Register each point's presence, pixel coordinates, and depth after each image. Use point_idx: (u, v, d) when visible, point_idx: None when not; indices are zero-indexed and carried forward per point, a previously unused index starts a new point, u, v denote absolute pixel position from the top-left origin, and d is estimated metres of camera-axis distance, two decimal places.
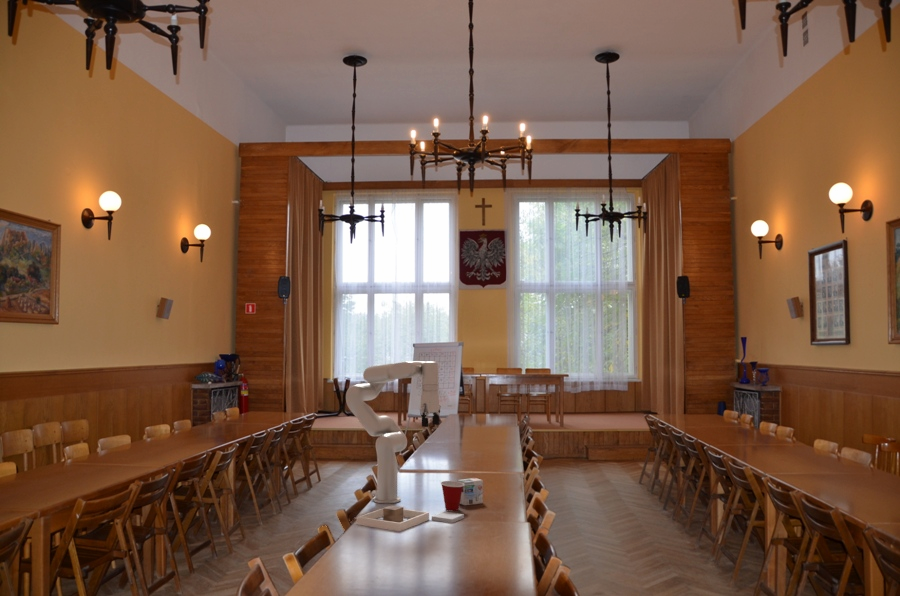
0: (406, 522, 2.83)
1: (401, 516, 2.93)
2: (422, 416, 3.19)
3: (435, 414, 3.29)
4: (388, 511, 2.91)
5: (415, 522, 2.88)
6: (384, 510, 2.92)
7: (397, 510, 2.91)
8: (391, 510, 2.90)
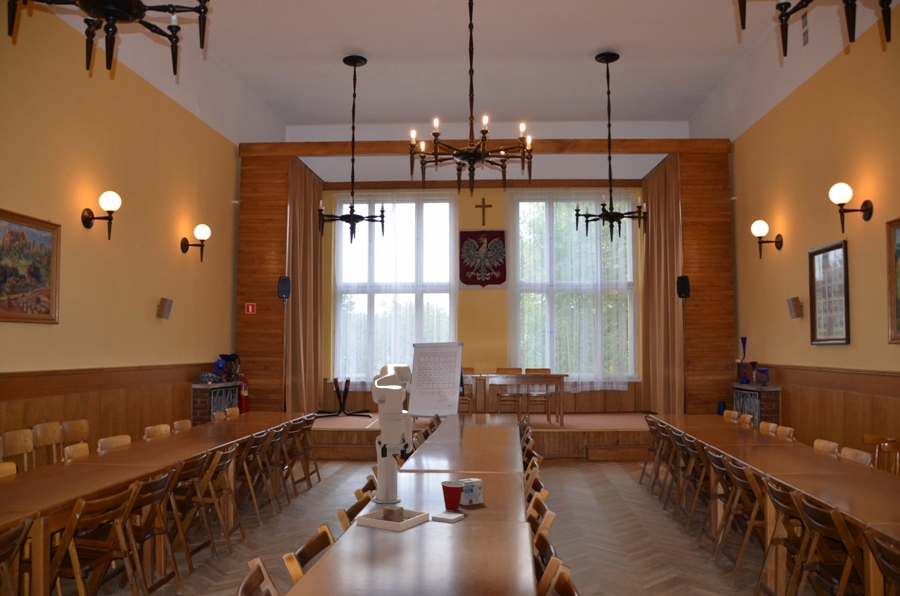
0: (406, 522, 2.83)
1: (401, 516, 2.93)
2: (406, 447, 2.92)
3: (383, 445, 2.98)
4: (388, 510, 2.91)
5: (415, 522, 2.88)
6: (384, 510, 2.92)
7: (397, 510, 2.91)
8: (391, 510, 2.90)
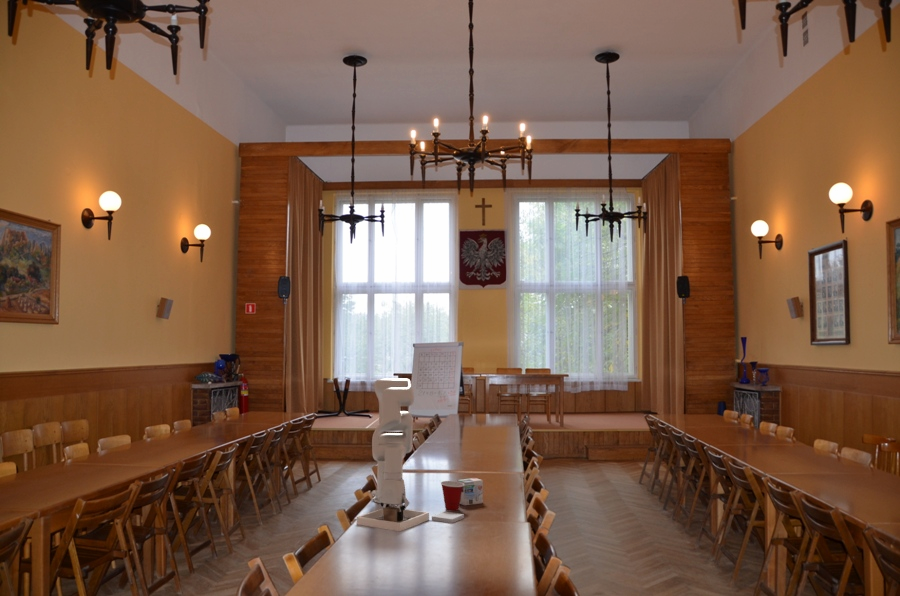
0: (406, 522, 2.83)
1: None
2: (403, 509, 2.91)
3: None
4: (388, 510, 2.91)
5: (415, 522, 2.88)
6: (384, 510, 2.92)
7: (397, 510, 2.91)
8: (391, 510, 2.90)
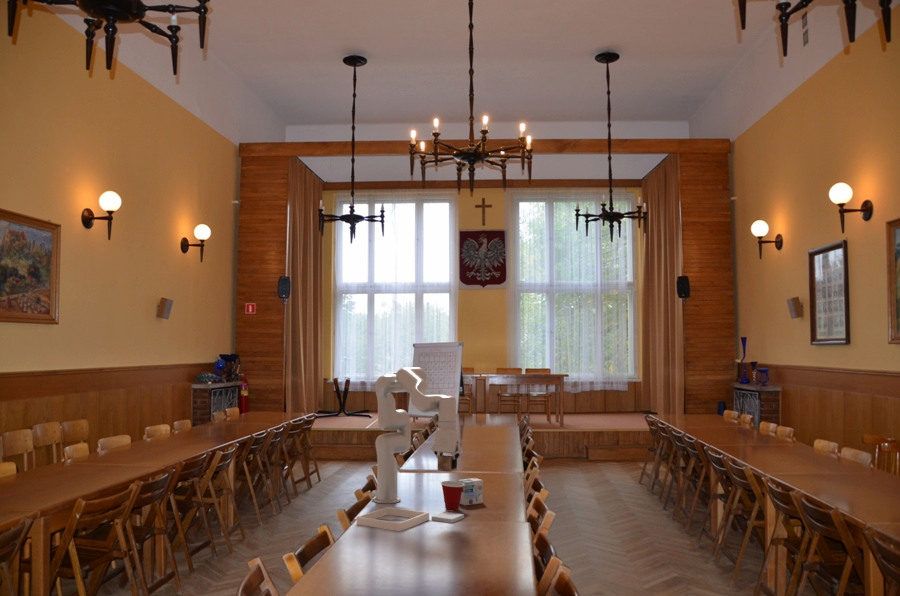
0: (406, 522, 2.83)
1: None
2: (457, 457, 2.97)
3: None
4: (443, 458, 2.98)
5: (415, 522, 2.88)
6: (438, 458, 2.99)
7: (451, 458, 2.98)
8: (446, 458, 2.97)
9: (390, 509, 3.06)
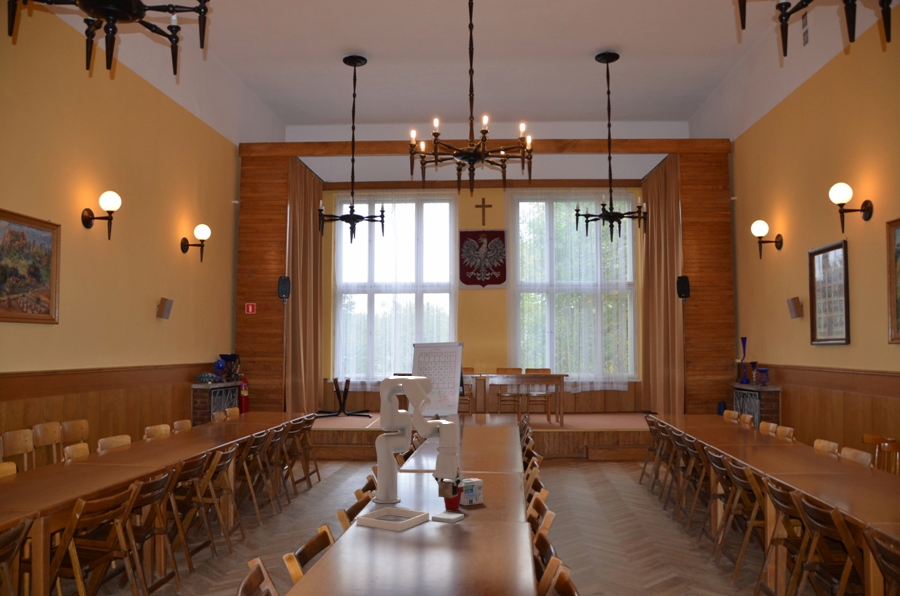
0: (406, 522, 2.83)
1: None
2: (458, 483, 2.97)
3: None
4: (444, 484, 2.97)
5: (415, 522, 2.88)
6: (439, 484, 2.98)
7: (452, 484, 2.97)
8: (447, 484, 2.96)
9: (390, 509, 3.06)
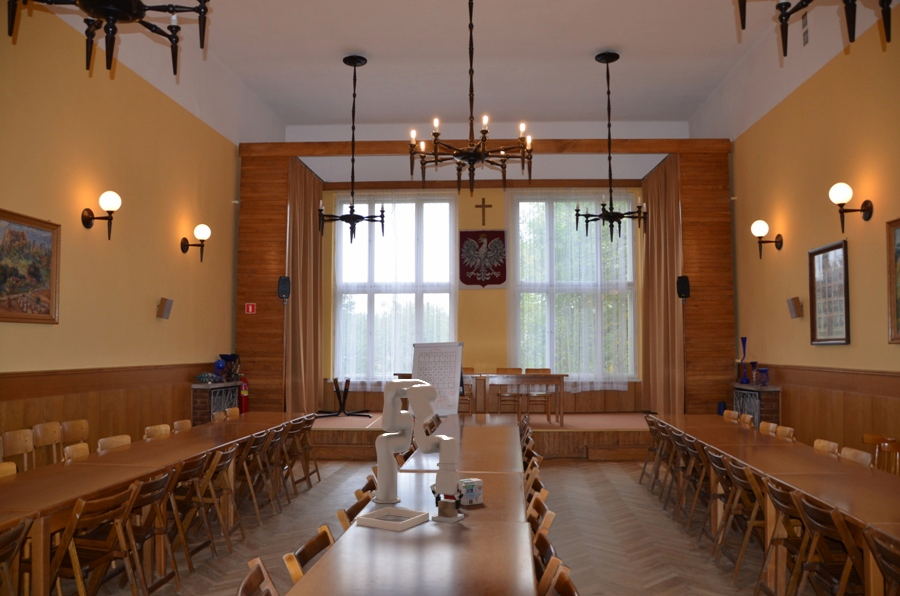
0: (406, 522, 2.83)
1: (455, 509, 2.99)
2: (460, 498, 2.96)
3: None
4: (443, 504, 2.97)
5: (415, 522, 2.88)
6: (439, 503, 2.98)
7: (452, 503, 2.96)
8: (446, 504, 2.96)
9: (390, 509, 3.06)
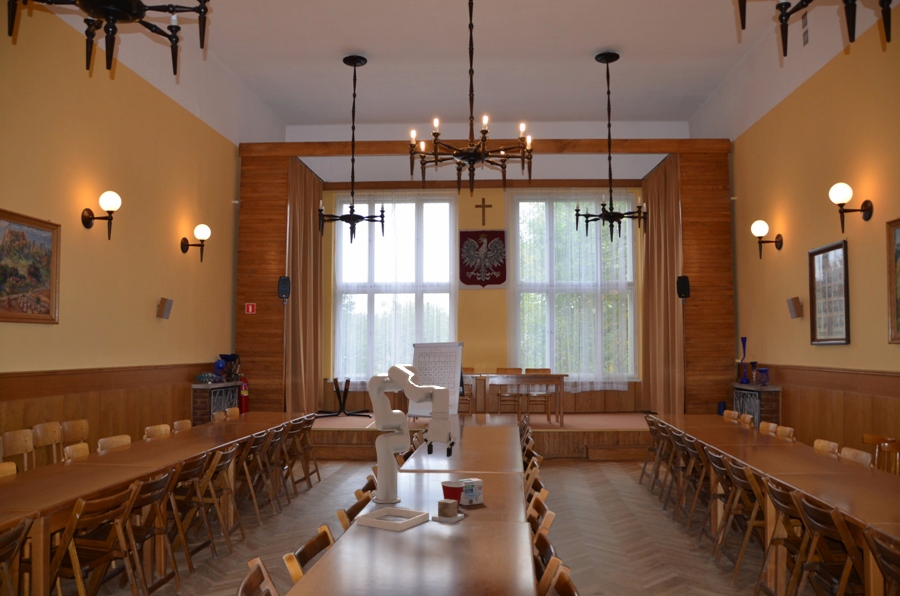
0: (406, 522, 2.83)
1: (455, 509, 2.99)
2: (452, 445, 3.03)
3: None
4: (443, 504, 2.97)
5: (415, 522, 2.88)
6: (439, 503, 2.98)
7: (452, 503, 2.96)
8: (446, 504, 2.96)
9: (390, 509, 3.06)
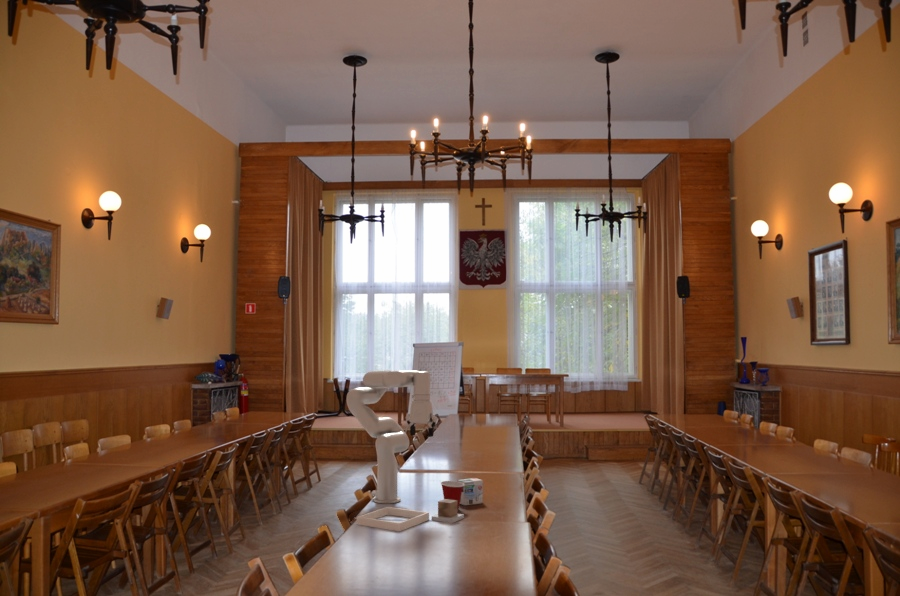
0: (406, 522, 2.83)
1: (455, 509, 2.99)
2: (433, 426, 3.19)
3: (412, 424, 3.24)
4: (443, 504, 2.97)
5: (415, 522, 2.88)
6: (439, 503, 2.98)
7: (452, 503, 2.96)
8: (446, 504, 2.96)
9: (390, 509, 3.06)
